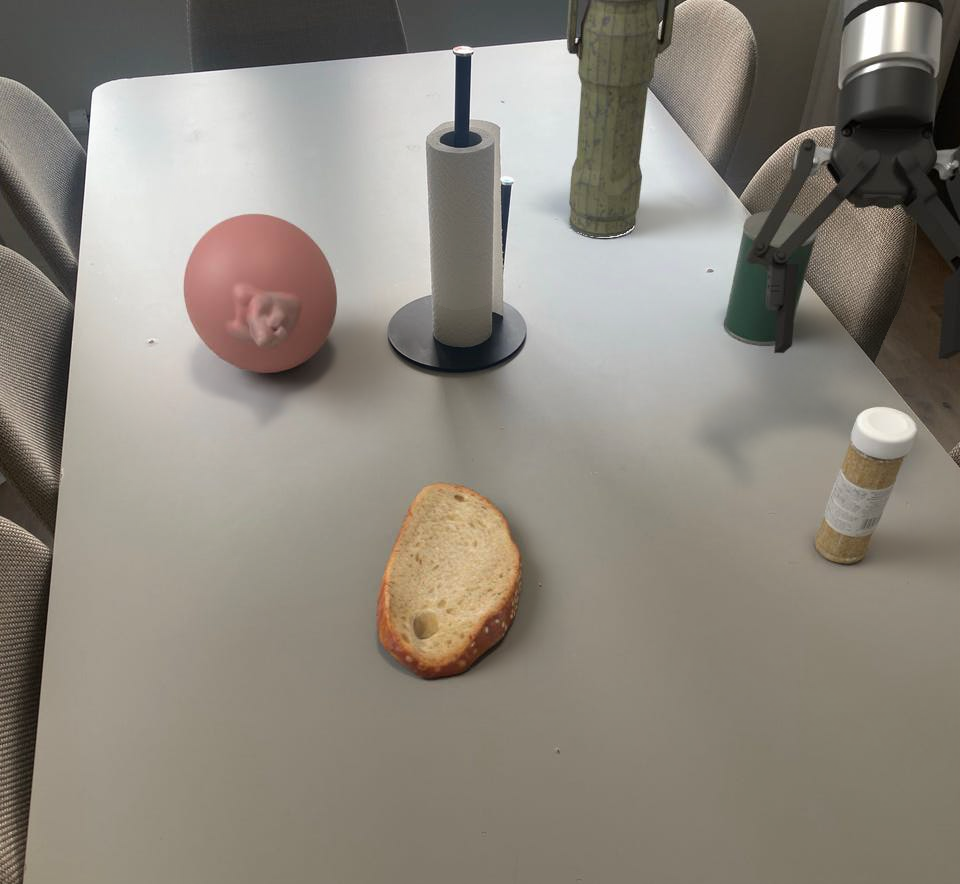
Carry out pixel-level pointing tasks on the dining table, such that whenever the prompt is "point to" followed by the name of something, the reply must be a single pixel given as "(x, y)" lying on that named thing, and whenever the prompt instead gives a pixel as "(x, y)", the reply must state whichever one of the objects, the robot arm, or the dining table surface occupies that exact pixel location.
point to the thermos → (612, 108)
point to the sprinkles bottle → (864, 483)
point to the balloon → (260, 293)
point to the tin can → (761, 283)
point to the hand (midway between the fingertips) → (866, 352)
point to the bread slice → (448, 582)
